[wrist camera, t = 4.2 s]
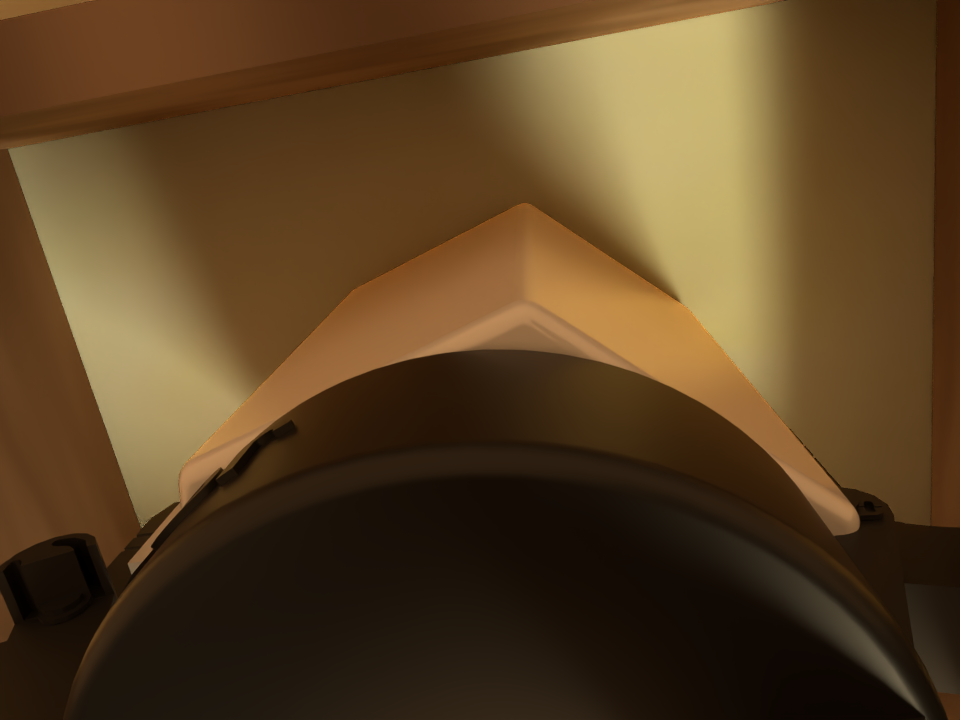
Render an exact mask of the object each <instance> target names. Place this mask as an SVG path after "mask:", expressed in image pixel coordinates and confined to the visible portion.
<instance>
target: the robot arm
mask: <svg viewBox="0 0 960 720" xmlns="http://www.w3.org/2000/svg"><path fill="white" fill-rule="evenodd" d="M790 431H791V432H792V430H791V429H790ZM792 433H793V432H792ZM793 434H794V433H793ZM794 435H795V434H794ZM795 437H796V438H797V439H798V440H799V438H798V437H797V436H796V435H795ZM799 441H800V440H799ZM800 443H801V444H802V445H803V443H802V442H801V441H800ZM804 447H805V449H806V450H807V451H808V452H809V453H810V454H811V456H812V457H813V454H812V453H811V452H810V451H809V450H808V449H807V448H806V446H804ZM814 459H815V460H816V462H817V463H818V464H819V465H820V466H821V468H822V469H823V470H824V471H825V472H826V474H827V475H828V476H829V477H830V478H831V480H832V481H833V482H834V483H835V484H836V486H837V487H838V488H839V489H840V490H841V492H842V493H843V494H844V495H845V496H846V497H847V499H848V500H849V501H850V502H851V503H852V505H853V506H854V507H855V509H856V510H857V513H858V515H859V519H860V527H859V529H858V530H857V531H855V532H853V533H850V534H845V535H836V536H834V537H835V538H836V539H837V541H838V542H839V544H840V545H841V546H842V548H843V549H844V550H845V552H846V553H847V555H848V556H849V557H850V559H851V560H852V561H853V563H854V564H855V565H856V567H857V568H858V570H859V571H860V572H861V574H862V575H863V576H864V578H865V579H866V581H867V582H868V583H869V585H870V586H871V587H872V589H873V590H874V591H875V593H876V594H877V596H878V597H879V598H880V600H881V601H882V602H883V604H884V605H885V607H886V608H887V609H888V611H889V612H890V613H891V615H892V616H893V617H894V619H895V620H896V622H897V623H898V624H899V626H900V627H901V629H902V630H903V631H904V633H905V634H906V636H907V637H908V638H909V640H910V641H911V643H912V645H913V646H914V648H915V650H916V651H917V653H918V655H919V656H920V658H921V660H922V662H923V663H924V665H925V667H926V669H927V671H928V673H929V675H930V677H931V679H932V681H933V684H934V686H935V688H936V690H937V692H942V693H950V694H958V695H960V527H941V526H923V525H914V524H905V523H901V522H896V521H894V515H893V513H892V511H891V510H890V508H889V506H888V504H886V503H884V502H883V501H881V500H880V499H878V498H877V497H875V496H874V495H871V494H868V493H864V492H861V491H858V490H855V489H848V488H841V486H840V485H839V484H838V483H837V482H836V481H835V480H834V478H833V477H832V476H831V475H830V474H829V473H828V472H827V470H826V469H825V468H824V467H823V466H822V465H821V464H820V462H819V461H818V460H817V459H816V458H814ZM180 510H181V504H180V502H176V503H173V504H172V505H170V506H169V507H167V508H166V509H164V510H163V511H161V512H160V513H158V514H157V515H155V516H154V517H152V518H151V519H150V520H149V521H148V522H147V524H146V525H145V526H144V527H143V528H142V529H141V530H140V531H139V532H138V534H137V538H133V539H132V540H131V541H130V542H129V544H128V545H127V546H126V547H125V548H124V549H125V551H122V552H121V553H120V554H119V555H118V556H117V557H116V558H115V559H114V560H113V561H112V563H111V564H110V565H109V566H108V567H106V564H105V562H104V559H103V556H102V554H101V551H100V548H99V546H98V543H97V540H96V538H95V537H94V536H92V535H90V534H88V533H72V534H68V535H63V536H58V537H54V538H51V539H49V540H46V541H43V542H40V543H37V544H35V545H33V546H31V547H29V548H27V549H25V550H23V551H21V552H19V553H17V554H16V555H14V556H13V557H11V558H10V559H8V560H7V561H6V562H4V563H3V564H2V565H1V566H0V591H1V594H2V596H3V598H4V601H5V603H6V605H7V608H8V610H9V612H10V615H11V617H12V619H13V622H14V624H15V625H14V627H13V629H12V631H11V633H10V635H9V638H8V640H7V641H4V642H1V643H0V720H63V717H64V712H65V709H66V705H67V702H68V698H69V695H70V691H71V687H72V684H73V681H74V678H75V676H76V674H77V671H78V669H79V666H80V664H81V662H82V659H83V657H84V655H85V653H86V650H87V648H88V646H89V644H90V642H91V640H92V638H93V636H94V634H95V633H96V631H97V629H98V628H99V626H100V624H101V623H102V621H103V619H104V618H105V616H106V615H107V613H108V611H109V610H110V608H111V607H112V606H113V604H114V603H115V602H116V600H117V599H118V598H119V596H120V595H121V594H122V592H123V591H124V588H125V586H126V585H127V583H128V581H129V579H130V577H131V575H132V574H133V572H134V571H135V570H136V569H137V568H138V566H139V565H140V564H141V563H142V562H143V561H144V559H145V558H146V557H147V556H148V555H149V554H150V552H151V551H152V550H153V548H151V545H152V544H153V542H154V541H155V539H156V538H157V537H158V535H159V534H160V533H161V532H162V531H163V529H164V528H165V527H166V526H167V525H168V524H169V522H170V521H171V520H172V519H173V518H174V517H175V516H176V514H177V513H178V512H179V511H180ZM900 720H925V717H921V718H911V719H900Z"/></svg>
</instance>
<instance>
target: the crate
mask: <svg viewBox="0 0 960 720" xmlns="http://www.w3.org/2000/svg"><path fill="white" fill-rule="evenodd" d="M780 1H785V0H94V1H89V2H85V3H80V4H75V5H70V6H66V7H61V8H56V9H51V10H47V11H42V12H37V13H32V14H28V15H23V16H18V17H13V18H9V19H4V20H0V566H1V565H2V564H3V563H4V562H6V561H7V560H8V559H10V558H11V557H13V556H14V555H16V554H17V553H19V552H21V551H23V550H25V549H27V548H29V547H31V546H33V545H35V544H37V543H40V542H43V541H46V540H49V539H51V538H54V537H58V536H63V535H68V534H72V533H88V534H90V535H92V536H94V537H95V538H96V540H97V543H98V546H99V548H100V551H101V554H102V556H103V559H104V562H105V564H106V567H108V566H109V565H110V564H111V563H112V561H113V560H114V559H115V558H116V557H117V556H118V555H119V554H120V553H121V552H122V551H125V549H124V548H125V547H126V546H127V545H128V544H129V542H130V541H131V540H132V539H133V538H137V534H138V532H139V531H140V530H141V528H140V525H139V523H138V520H137V517H136V514H135V511H134V508H133V505H132V503H131V500H130V497H129V494H128V491H127V488H126V486H125V483H124V480H123V477H122V474H121V471H120V468H119V466H118V463H117V460H116V457H115V454H114V451H113V449H112V446H111V443H110V440H109V437H108V434H107V431H106V429H105V426H104V423H103V420H102V417H101V414H100V412H99V409H98V406H97V403H96V400H95V397H94V394H93V392H92V389H91V386H90V383H89V380H88V377H87V375H86V372H85V369H84V366H83V363H82V360H81V357H80V355H79V352H78V349H77V346H76V343H75V340H74V338H73V335H72V332H71V329H70V326H69V323H68V320H67V318H66V315H65V312H64V309H63V306H62V303H61V301H60V298H59V295H58V292H57V289H56V286H55V284H54V281H53V278H52V275H51V272H50V269H49V266H48V264H47V261H46V258H45V255H44V252H43V249H42V247H41V244H40V241H39V238H38V235H37V232H36V229H35V227H34V224H33V221H32V218H31V215H30V212H29V210H28V207H27V204H26V201H25V198H24V195H23V192H22V190H21V187H20V184H19V181H18V178H17V175H16V173H15V170H14V167H13V164H12V161H11V158H10V155H9V153H8V150H7V149H9V148H15V147H20V146H25V145H30V144H36V143H41V142H46V141H51V140H57V139H62V138H67V137H72V136H77V135H83V134H88V133H93V132H98V131H104V130H109V129H114V128H119V127H125V126H130V125H135V124H140V123H146V122H151V121H156V120H161V119H167V118H172V117H177V116H182V115H188V114H193V113H198V112H203V111H209V110H214V109H219V108H224V107H230V106H235V105H240V104H245V103H251V102H256V101H261V100H266V99H272V98H277V97H282V96H287V95H292V94H298V93H303V92H308V91H313V90H319V89H324V88H329V87H334V86H340V85H345V84H350V83H355V82H361V81H366V80H371V79H376V78H382V77H387V76H392V75H397V74H403V73H408V72H413V71H418V70H424V69H429V68H434V67H439V66H445V65H450V64H455V63H460V62H466V61H471V60H476V59H481V58H487V57H492V56H497V55H502V54H508V53H513V52H518V51H523V50H528V49H534V48H539V47H544V46H549V45H555V44H560V43H565V42H570V41H576V40H581V39H586V38H591V37H597V36H602V35H607V34H612V33H618V32H623V31H628V30H633V29H639V28H644V27H649V26H654V25H660V24H665V23H670V22H675V21H681V20H686V19H691V18H696V17H702V16H707V15H712V14H717V13H723V12H728V11H733V10H738V9H743V8H749V7H754V6H759V5H764V4H770V3H775V2H780ZM931 526H941V527H960V0H937V52H936V140H935V228H934V316H933V404H932V491H931ZM14 625H15V624H14V622H13V619H12V617H11V615H10V612H9V610H8V608H7V605H6V603H5V601H4V598H3V596H2V594H1V591H0V643H1V642H4V641H7V640H8V638H9V635H10V633H11V631H12V629H13V627H14ZM938 694H939V697H940V699H941V702H942V704H943V707H944V709H945V712H946V714H947V718H948V720H960V695H958V694H950V693H942V692H938Z"/></svg>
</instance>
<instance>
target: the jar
mask: <svg viewBox="0 0 960 720" xmlns="http://www.w3.org/2000/svg"><path fill="white" fill-rule="evenodd" d="M179 493H180V504H181V510H180V511H179V512H178V513H177V514H176V516H175V517H174V518H173V519H172V520H171V521H170V522H169V524H168V525H167V526H166V527H165V528H164V529H163V531H162V532H161V533H160V534H159V535H158V537H157V538H156V539H155V541H154V542H153V544H152V545H151V548H153V550H152V551H151V552H150V554H149V555H148V556H147V557H146V558H145V559H144V561H143V562H142V563H141V564H140V565H139V566H138V568H137V569H136V570H135V571H134V572H133V574H132V575H131V577H130V579H129V581H128V583H127V585H126V586H125V588H124V591H123V592H122V594H121V595H120V596H119V598H118V599H117V600H116V602H115V603H114V604H113V606H112V607H111V608H110V610H109V611H108V613H107V615H106V616H105V618H104V619H103V621H102V623H101V624H100V626H99V628H98V629H97V631H96V633H95V634H94V636H93V638H92V640H91V642H90V644H89V646H88V648H87V650H86V653H85V655H84V657H83V659H82V662H81V664H80V666H79V669H78V671H77V674H76V676H75V678H74V681H73V684H72V687H71V691H70V695H69V698H68V702H67V705H66V709H65V712H64V717H63V720H900V719H911V718H921V717H925V720H948V718H947V714H946V712H945V709H944V707H943V704H942V702H941V699H940V697H939V694H938V692H937V690H936V688H935V686H934V684H933V681H932V679H931V677H930V675H929V673H928V671H927V669H926V667H925V665H924V663H923V662H922V660H921V658H920V656H919V655H918V653H917V651H916V650H915V648H914V646H913V645H912V643H911V641H910V640H909V638H908V637H907V636H906V634H905V633H904V631H903V630H902V629H901V627H900V626H899V624H898V623H897V622H896V620H895V619H894V617H893V616H892V615H891V613H890V612H889V611H888V609H887V608H886V607H885V605H884V604H883V602H882V601H881V600H880V598H879V597H878V596H877V594H876V593H875V591H874V590H873V589H872V587H871V586H870V585H869V583H868V582H867V581H866V579H865V578H864V576H863V575H862V574H861V572H860V571H859V570H858V568H857V567H856V565H855V564H854V563H853V561H852V560H851V559H850V557H849V556H848V555H847V553H846V552H845V550H844V549H843V548H842V546H841V545H840V544H839V542H838V541H837V539H836V538H835V537H834V536H836V535H845V534H850V533H853V532H855V531H857V530H858V529H859V527H860V519H859V515H858V513H857V510H856V509H855V507H854V506H853V505H852V503H851V502H850V501H849V500H848V499H847V497H846V496H845V495H844V494H843V493H842V492H841V490H840V489H839V488H838V487H837V486H836V484H835V483H834V482H833V481H832V480H831V478H830V477H829V476H828V475H827V474H826V472H825V471H824V470H823V469H822V468H821V466H820V465H819V464H818V463H817V462H816V460H815V459H814V458H813V457H812V456H811V454H810V453H809V452H808V451H807V450H806V449H805V447H804V446H803V445H802V444H801V443H800V441H799V440H798V439H797V438H796V437H795V435H794V434H793V433H792V432H791V431H790V429H789V428H788V427H787V426H786V425H785V423H784V422H783V421H782V420H781V419H780V417H779V416H778V415H777V414H776V413H775V411H774V410H773V409H772V408H771V407H770V405H769V404H768V403H767V402H766V401H765V400H764V398H763V397H762V396H761V395H760V394H759V392H758V391H757V390H756V389H755V388H754V386H753V385H752V384H751V383H750V382H749V380H748V379H747V378H746V377H745V376H744V374H743V373H742V372H741V371H740V370H739V368H738V367H737V366H736V365H735V364H734V362H733V361H732V360H731V359H730V358H729V357H728V355H727V354H726V353H725V352H724V351H723V349H722V348H721V347H720V346H719V345H718V343H717V342H716V341H715V340H714V339H713V337H712V336H711V335H710V334H709V333H708V331H707V330H706V329H705V328H704V327H703V325H702V324H701V323H700V322H699V321H698V319H697V318H696V317H695V316H694V315H693V314H692V312H691V311H690V310H689V309H688V308H687V307H685V306H684V305H682V304H681V303H679V302H678V301H676V300H675V299H673V298H672V297H670V296H669V295H667V294H666V293H664V292H663V291H661V290H660V289H658V288H657V287H655V286H654V285H652V284H651V283H649V282H648V281H646V280H644V279H643V278H641V277H640V276H638V275H637V274H635V273H634V272H632V271H631V270H629V269H628V268H626V267H625V266H623V265H622V264H620V263H619V262H617V261H616V260H614V259H613V258H611V257H610V256H608V255H607V254H605V253H604V252H602V251H601V250H599V249H598V248H596V247H595V246H593V245H592V244H590V243H589V242H587V241H586V240H584V239H582V238H581V237H579V236H578V235H576V234H575V233H573V232H572V231H570V230H569V229H567V228H566V227H564V226H563V225H561V224H560V223H558V222H557V221H555V220H554V219H552V218H551V217H549V216H548V215H546V214H545V213H543V212H542V211H540V210H539V209H537V208H536V207H534V206H533V205H531V204H528V203H521V204H518V205H516V206H514V207H512V208H510V209H509V210H507V211H505V212H503V213H501V214H499V215H497V216H495V217H493V218H491V219H489V220H487V221H485V222H483V223H481V224H480V225H478V226H476V227H474V228H472V229H470V230H468V231H466V232H464V233H462V234H460V235H458V236H456V237H454V238H452V239H450V240H449V241H447V242H445V243H443V244H441V245H439V246H437V247H435V248H433V249H431V250H429V251H427V252H425V253H423V254H421V255H419V256H418V257H416V258H414V259H412V260H410V261H408V262H406V263H404V264H402V265H400V266H398V267H396V268H394V269H392V270H390V271H389V272H387V273H385V274H383V275H381V276H379V277H377V278H375V279H373V280H371V281H369V282H367V283H365V284H363V285H361V286H359V287H358V288H356V289H354V290H353V291H351V293H350V294H349V295H348V296H347V297H346V298H345V299H344V300H343V301H342V302H341V303H340V304H339V305H338V306H337V307H336V308H335V309H334V310H333V311H332V312H331V313H330V314H329V315H328V316H327V317H326V318H325V319H324V320H323V321H322V323H321V324H320V325H319V326H318V327H317V328H316V329H315V330H314V331H313V332H312V333H311V334H310V335H309V336H308V337H307V338H306V339H305V340H304V341H303V342H302V343H301V344H300V345H299V346H298V347H297V348H296V349H295V350H294V351H293V352H292V354H291V355H290V356H289V357H288V358H287V359H286V360H285V361H284V362H283V363H282V364H281V365H280V366H279V367H278V368H277V369H276V370H275V371H274V372H273V373H272V374H271V375H270V376H269V377H268V378H267V379H266V380H265V381H264V382H263V384H262V385H261V386H260V387H259V388H258V389H257V390H256V391H255V392H254V393H253V394H252V395H251V396H250V397H249V398H248V399H247V400H246V401H245V402H244V403H243V404H242V405H241V406H240V407H239V408H238V409H237V410H236V411H235V412H234V413H233V415H232V416H231V417H230V418H229V419H228V420H227V421H226V422H225V423H224V424H223V425H222V426H221V427H220V428H219V429H218V430H217V431H216V432H215V433H214V434H213V435H212V436H211V437H210V438H209V439H208V440H207V441H206V442H205V443H204V444H203V446H202V447H201V448H200V449H199V450H198V451H197V452H196V453H195V454H194V455H193V456H192V457H191V458H190V459H189V460H188V461H187V462H186V463H185V464H184V466H183V467H182V469H181V472H180V474H179Z"/></svg>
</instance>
